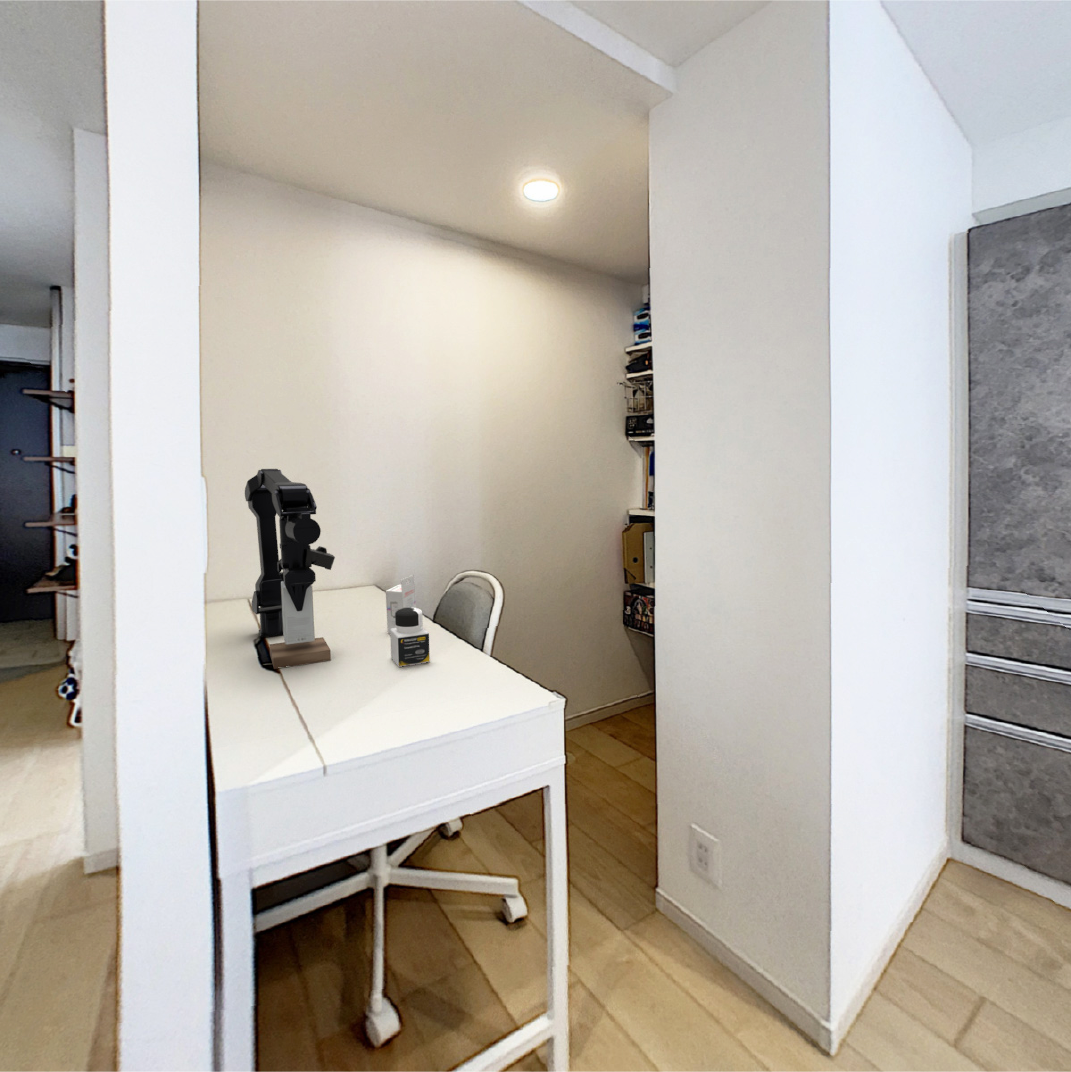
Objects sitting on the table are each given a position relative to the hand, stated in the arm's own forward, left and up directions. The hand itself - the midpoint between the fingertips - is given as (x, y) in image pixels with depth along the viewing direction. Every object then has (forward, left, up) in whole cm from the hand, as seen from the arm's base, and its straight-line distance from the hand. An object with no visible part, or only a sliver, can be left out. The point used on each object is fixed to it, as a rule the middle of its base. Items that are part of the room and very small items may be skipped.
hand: (297, 606), depth 137 cm
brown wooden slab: (0, 0, -12) cm, 12 cm away
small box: (0, 0, -8) cm, 8 cm away
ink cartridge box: (-11, +27, -12) cm, 32 cm away
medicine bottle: (+14, +22, -12) cm, 29 cm away
